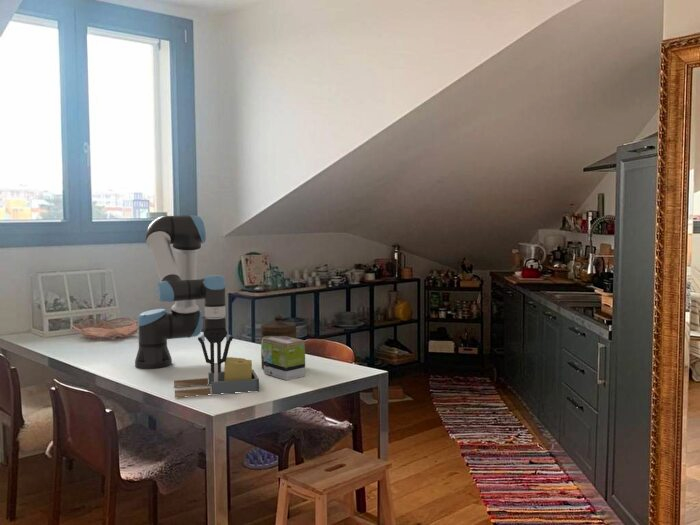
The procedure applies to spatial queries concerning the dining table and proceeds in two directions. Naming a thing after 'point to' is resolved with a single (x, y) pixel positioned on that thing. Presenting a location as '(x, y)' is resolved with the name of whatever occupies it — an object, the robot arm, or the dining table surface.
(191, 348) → the dining table surface
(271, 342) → the tea box
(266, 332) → the wooden container
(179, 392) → the lane rails
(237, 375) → the cheese
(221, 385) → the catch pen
